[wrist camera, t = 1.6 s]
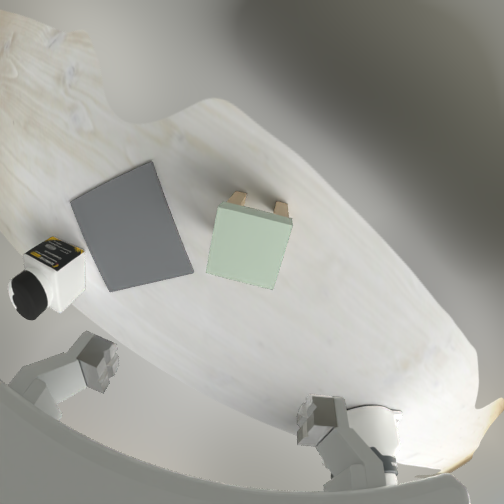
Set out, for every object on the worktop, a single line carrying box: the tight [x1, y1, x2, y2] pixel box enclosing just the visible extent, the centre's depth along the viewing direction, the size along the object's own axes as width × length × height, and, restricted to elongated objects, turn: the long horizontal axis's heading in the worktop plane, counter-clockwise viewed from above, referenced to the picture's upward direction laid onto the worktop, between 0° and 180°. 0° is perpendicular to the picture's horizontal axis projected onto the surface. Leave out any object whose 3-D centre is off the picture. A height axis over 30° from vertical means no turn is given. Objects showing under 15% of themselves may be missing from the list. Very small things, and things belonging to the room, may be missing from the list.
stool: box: [206, 191, 293, 290], centre depth 26 cm, size 6×6×8 cm
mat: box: [70, 162, 194, 292], centre depth 32 cm, size 14×14×1 cm
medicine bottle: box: [8, 236, 86, 320], centre depth 30 cm, size 7×7×12 cm
